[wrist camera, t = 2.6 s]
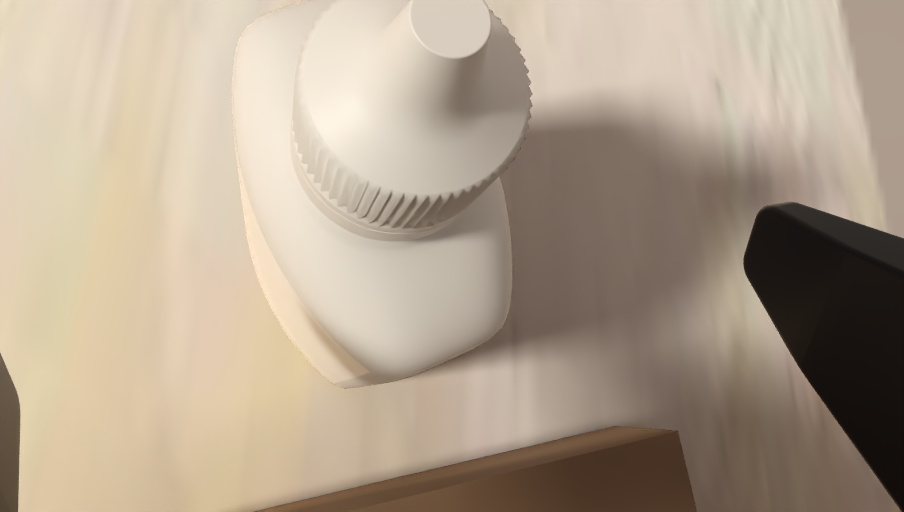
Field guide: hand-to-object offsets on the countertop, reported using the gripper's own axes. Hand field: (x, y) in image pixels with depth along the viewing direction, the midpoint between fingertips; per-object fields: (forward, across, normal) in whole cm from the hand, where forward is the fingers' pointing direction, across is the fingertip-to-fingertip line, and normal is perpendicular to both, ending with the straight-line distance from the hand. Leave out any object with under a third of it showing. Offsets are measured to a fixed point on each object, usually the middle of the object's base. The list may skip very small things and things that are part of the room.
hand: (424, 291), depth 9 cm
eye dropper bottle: (+8, 0, +5) cm, 9 cm away
